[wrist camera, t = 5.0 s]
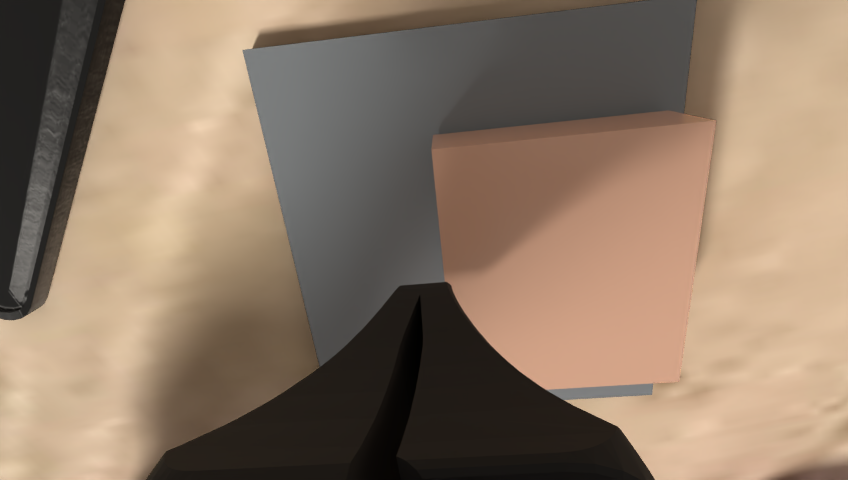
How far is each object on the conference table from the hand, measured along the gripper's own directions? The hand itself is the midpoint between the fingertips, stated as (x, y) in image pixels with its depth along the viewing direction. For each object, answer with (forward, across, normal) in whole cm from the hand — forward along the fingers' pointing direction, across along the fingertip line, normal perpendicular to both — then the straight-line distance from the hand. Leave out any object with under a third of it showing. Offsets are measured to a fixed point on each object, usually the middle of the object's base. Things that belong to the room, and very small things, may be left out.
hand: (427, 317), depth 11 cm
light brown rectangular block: (+3, 0, 0) cm, 3 cm away
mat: (+5, -2, 0) cm, 5 cm away
